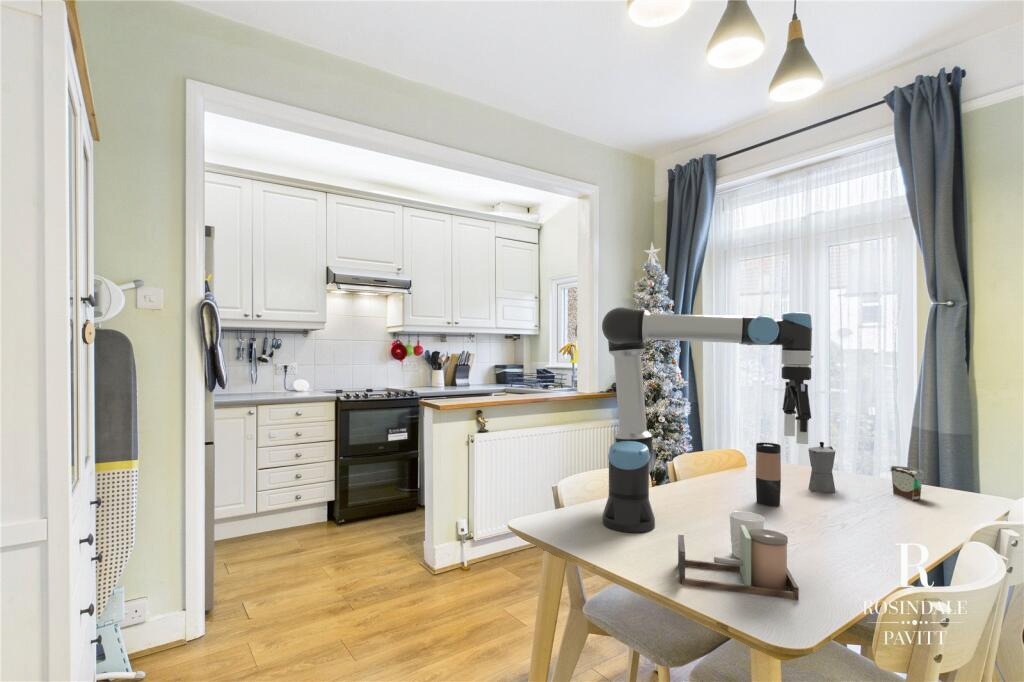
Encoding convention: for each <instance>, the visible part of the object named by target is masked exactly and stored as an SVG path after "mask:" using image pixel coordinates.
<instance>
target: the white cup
mask: <svg viewBox="0 0 1024 682" xmlns="http://www.w3.org/2000/svg"><path fill="white" fill-rule="evenodd" d="M740 525H745V526H746V529H747V531H748V532H749V531H750V530H753V529H765V528H764V527H765V518H764V516H763V515H761V514H759V513H755V512H751V511H743V510H742V511H741V510H738V511H737V510H736V511H732V512H729V527H730V543H731V554H732V555H733V557H735V559H736V558H737V559H738V560H740Z"/></svg>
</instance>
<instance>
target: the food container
mask: <svg viewBox="0 0 1024 682" xmlns="http://www.w3.org/2000/svg"><path fill="white" fill-rule="evenodd" d="M889 471H890V472H891V483H892V493H893V495H895V496H898V497H900V496H901V497H900V498H903V499H905V498H906V500H908V499H909V501H911V502H919V501H921V493H922V484H923V480H924V479H925V474H924V472H923V471H922V470H920V469H917V468H913V467H906V466H898V465H891V467H890V470H889Z"/></svg>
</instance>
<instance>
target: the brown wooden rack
mask: <svg viewBox="0 0 1024 682" xmlns="http://www.w3.org/2000/svg"><path fill="white" fill-rule="evenodd" d="M684 537H685V536H684V534H678V536H677V538H678V539H677V541H678V542H677V543H678V544H677V550H678V551H677V552H678V553H677V555H678V556H677V565H678V567H677V568H678V583H679V584H682V585H684V586H693V587H700V588H705V589H706V588H707V589H713V590H714V589H715V590H722V591H730V592H736V593H746V594H752V595H758V596H759V595H760V596H766V597H775V598H782V599H790V600H798V601H799V588H800V587H799V586H798V584H797V582H796V581H795V579H794V578H793V575H792V573H791V572H790V570H789V569H788V567H787V589H788V590H786V591H784V590H776V589H768V588H761V587H753V586H752V585H751V586H745V585H744V584H736V583H727V582H722V581H714V580H713V581H712V580H706V579H698V578H689V577H686V566H687V567H694V568H703V569H712V570H719V571H726V572H734V573H735V572H736V573H740V566H737V565H729V564H721V563H714V561H713V562H712V561H703V560H696V559H695V560H694V559H689V558H688V559H686V546H685V544H686V543H685V538H684Z"/></svg>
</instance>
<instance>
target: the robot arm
mask: <svg viewBox="0 0 1024 682" xmlns="http://www.w3.org/2000/svg"><path fill="white" fill-rule="evenodd" d="M812 325H813V324H812V315H811V314H810V313H809V312H801V311H800V312H798V311H797V312H784V313H782V316H781V319H774V318H773V317H771V316H768V315H759V316H743V315H711V314H675V313H674V314H671V313H668V314H667V313H650V312H649V311H648V310H646V309H632V308H627V307H616V308H613V309H611V310H609V311H608V312H607V313H606V314H605V316H604V317H603V319H602V324H601V330H602V331H601V332H602V333H603V335H604V337H605V339H607V344H608V353H609V354H610V355H611V356H612V357H613V360H614V361H613V362H614V371H615V372H614V375H615V388H616V401H617V403H616V404H617V414H618V415H617V417H618V426H619V427H618V429H619V430H618V432H617V434H615V442H614V443H612V444H611V445H610V446H609V449H608V455H607V456H608V457H607V459H608V497H607V499H606V502H605V503H606V504H605V506H604V508H603V512H602V521H601V522H602V524H603V525H604V526H605V527H606V528H609V529H611V530H615V531H618V532H624V533H645V532H650V531H653V530H654V529H655V527H656V519H655V515H654V512H653V508H652V504H651V502H650V498H649V497H650V473H651V472H652V471H653V470H654V467H655V465H656V461H657V459H656V458H657V457H656V451H655V448H654V444H653V443H654V442H653V434H652V433H651V432H650V431H649V430H648V427H647V417H646V416H647V415H646V414H647V413H646V406H645V405H646V403H645V390H644V388H645V387H644V378H643V365H642V355H643V354H644V353H645V351H646V342H648V340H656V341H657V340H658V341H683V342H705V343H709V342H710V343H728V344H730V343H731V344H732V343H733V344H739V345H743V346H744V345H745V346H781V364H782V365H783V366H782V367H781V378H782V379H783V380H788V381H785V388H784V390H785V391H784V396H783V403H782V408H781V410H782V411H783V413H784V424H783V425H784V429H783V431H784V433H783V434H784V435H783V436H785V437H796V439H795V440H796V444H798V445H799V444H800V445H801V444H802V445H809V420H810V419H812V413H811V412H812V411H811V406H810V399H809V397H810V396H809V385H808V383H804V381H811V380H812V368H811V367H810V366H811V365H812V359H813V358H814V354H812V345H813V344H812V342H813V341H812V338H813V337H812V336H813V333H812V331H813V327H812ZM795 409H796V410H795Z"/></svg>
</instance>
